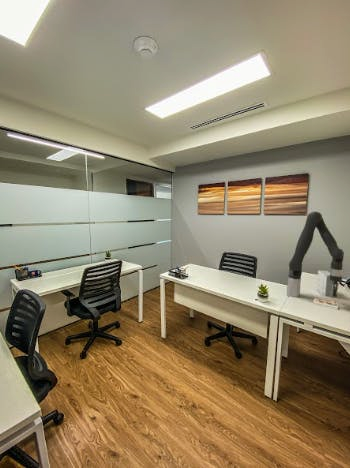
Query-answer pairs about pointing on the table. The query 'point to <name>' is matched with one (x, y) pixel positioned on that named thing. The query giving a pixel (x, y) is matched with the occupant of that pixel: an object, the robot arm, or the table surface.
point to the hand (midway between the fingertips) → (334, 294)
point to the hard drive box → (324, 284)
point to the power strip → (325, 304)
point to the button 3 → (333, 302)
